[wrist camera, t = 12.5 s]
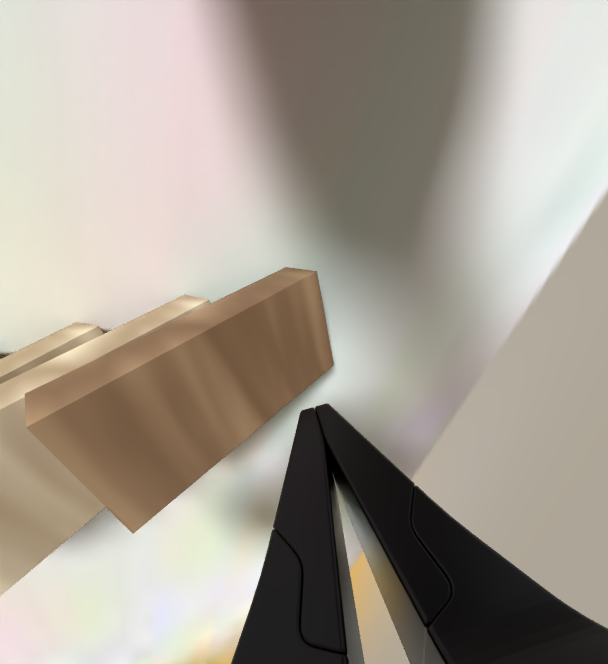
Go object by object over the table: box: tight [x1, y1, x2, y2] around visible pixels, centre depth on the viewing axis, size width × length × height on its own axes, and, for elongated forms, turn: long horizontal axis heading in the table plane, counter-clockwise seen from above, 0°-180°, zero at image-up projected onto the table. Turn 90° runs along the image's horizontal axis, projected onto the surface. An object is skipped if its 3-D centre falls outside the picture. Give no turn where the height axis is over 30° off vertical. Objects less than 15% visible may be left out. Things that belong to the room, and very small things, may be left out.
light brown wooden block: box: [0, 295, 210, 596], centre depth 11 cm, size 2×5×10 cm
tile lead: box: [25, 267, 334, 533], centre depth 11 cm, size 2×5×10 cm
